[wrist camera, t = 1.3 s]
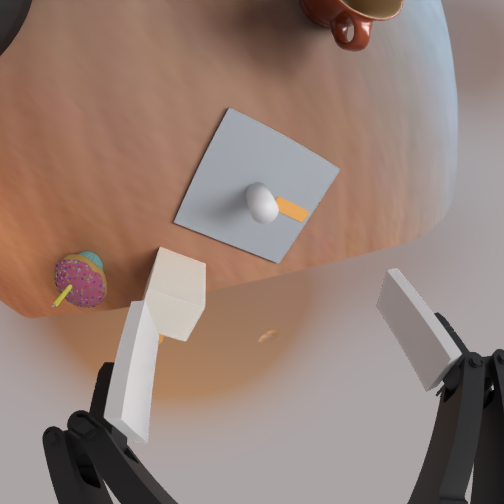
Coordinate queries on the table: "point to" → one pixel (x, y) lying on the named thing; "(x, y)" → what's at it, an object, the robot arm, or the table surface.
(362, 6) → the mug
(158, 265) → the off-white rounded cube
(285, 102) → the table surface
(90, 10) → the table surface
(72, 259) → the cupcake
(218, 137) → the post base
